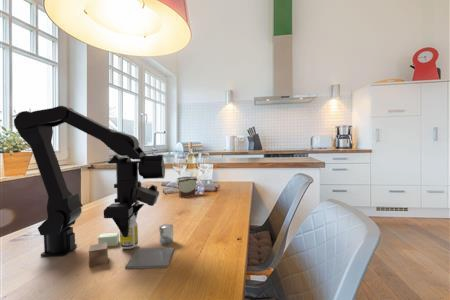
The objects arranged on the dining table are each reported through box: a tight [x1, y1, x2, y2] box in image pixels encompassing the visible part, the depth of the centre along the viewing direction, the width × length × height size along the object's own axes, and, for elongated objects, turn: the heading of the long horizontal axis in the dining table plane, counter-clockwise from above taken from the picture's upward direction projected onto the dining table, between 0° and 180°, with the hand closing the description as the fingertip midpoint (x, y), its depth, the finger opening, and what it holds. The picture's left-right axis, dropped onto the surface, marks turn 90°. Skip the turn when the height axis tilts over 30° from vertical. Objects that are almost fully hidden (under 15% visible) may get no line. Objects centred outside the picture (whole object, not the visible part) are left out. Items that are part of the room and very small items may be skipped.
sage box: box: [97, 232, 120, 247], centre depth 76 cm, size 5×3×3 cm, turn 103°
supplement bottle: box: [119, 215, 139, 250], centre depth 73 cm, size 5×5×8 cm
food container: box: [175, 176, 198, 199], centre depth 140 cm, size 12×6×10 cm, turn 130°
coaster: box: [124, 246, 175, 270], centre depth 67 cm, size 10×10×1 cm
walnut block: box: [88, 243, 109, 268], centre depth 65 cm, size 4×4×4 cm
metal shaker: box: [158, 223, 174, 247], centre depth 77 cm, size 4×4×5 cm
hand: (128, 233), depth 73 cm, fingers closed on supplement bottle, 5 cm apart
